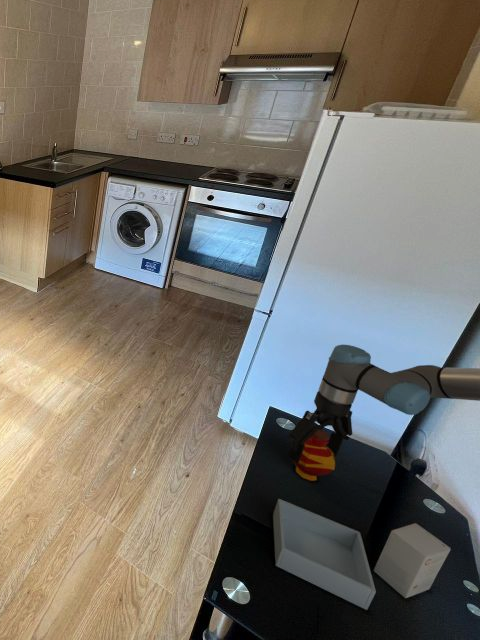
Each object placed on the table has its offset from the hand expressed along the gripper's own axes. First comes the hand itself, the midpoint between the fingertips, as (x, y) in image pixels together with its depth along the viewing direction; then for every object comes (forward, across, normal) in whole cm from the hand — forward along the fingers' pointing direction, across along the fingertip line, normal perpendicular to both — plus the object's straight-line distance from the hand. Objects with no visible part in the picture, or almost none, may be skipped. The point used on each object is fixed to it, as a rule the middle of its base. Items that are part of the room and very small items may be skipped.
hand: (312, 456), depth 120 cm
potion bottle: (+7, 0, 0) cm, 7 cm away
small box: (+6, +8, +29) cm, 31 cm away
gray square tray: (+6, +23, +22) cm, 32 cm away
